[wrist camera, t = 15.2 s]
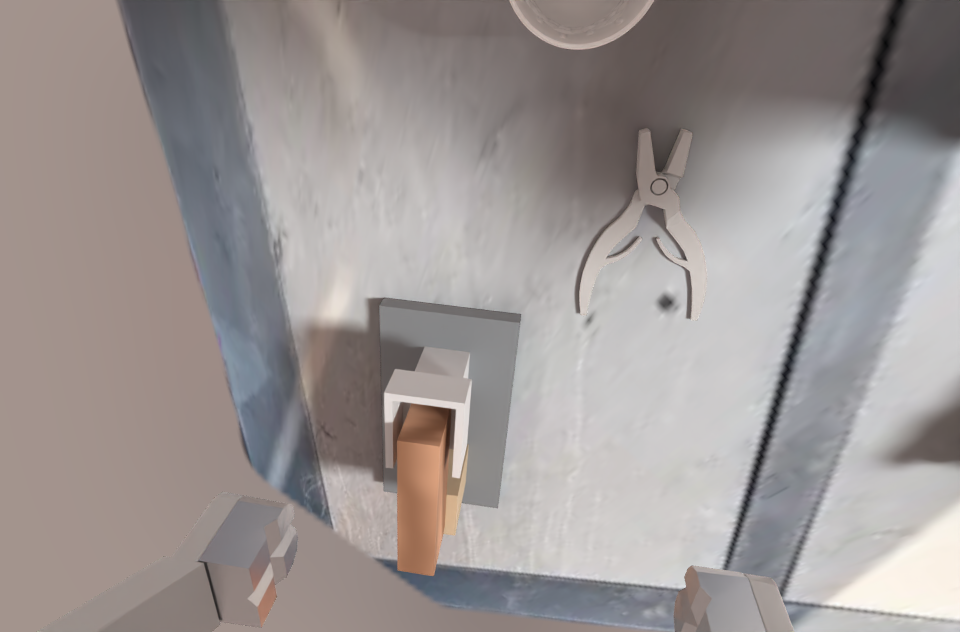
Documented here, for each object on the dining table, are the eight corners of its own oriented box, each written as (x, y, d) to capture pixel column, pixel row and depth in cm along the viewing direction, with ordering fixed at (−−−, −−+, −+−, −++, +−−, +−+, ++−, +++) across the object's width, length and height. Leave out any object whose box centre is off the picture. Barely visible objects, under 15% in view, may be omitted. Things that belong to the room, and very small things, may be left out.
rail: (451, 402, 42) (439, 446, 38) (444, 526, 49) (433, 576, 45) (413, 397, 43) (397, 440, 38) (411, 521, 50) (397, 570, 45)
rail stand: (521, 314, 47) (511, 390, 38) (499, 497, 58) (487, 593, 48) (384, 297, 48) (340, 368, 38) (387, 480, 59) (354, 571, 49)
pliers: (577, 320, 45) (593, 130, 38) (577, 311, 47) (592, 126, 40) (702, 326, 44) (743, 132, 37) (698, 316, 46) (736, 127, 38)
